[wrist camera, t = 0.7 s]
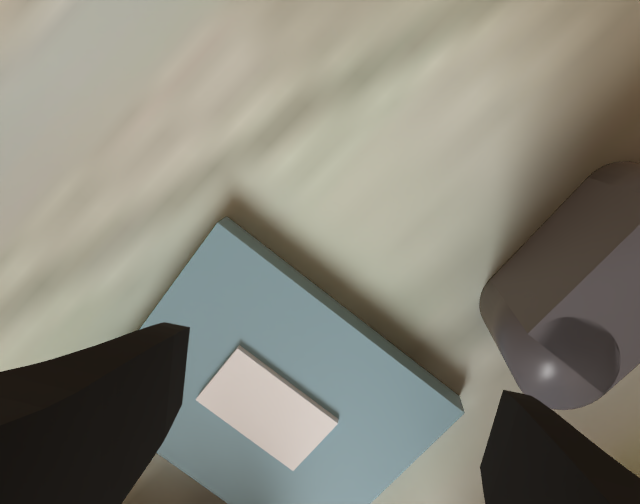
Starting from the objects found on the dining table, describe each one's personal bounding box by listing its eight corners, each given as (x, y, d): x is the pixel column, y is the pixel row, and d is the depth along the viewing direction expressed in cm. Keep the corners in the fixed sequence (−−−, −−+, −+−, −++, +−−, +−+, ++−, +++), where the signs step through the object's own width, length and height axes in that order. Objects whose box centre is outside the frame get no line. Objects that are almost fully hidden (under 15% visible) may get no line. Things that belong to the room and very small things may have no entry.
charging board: (459, 396, 21) (465, 417, 19) (312, 540, 24) (308, 567, 22) (226, 216, 20) (215, 224, 18) (100, 387, 23) (82, 406, 21)
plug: (733, 147, 17) (869, 160, 13) (520, 353, 20) (566, 427, 15) (669, 91, 17) (784, 83, 12) (463, 307, 20) (491, 369, 15)
